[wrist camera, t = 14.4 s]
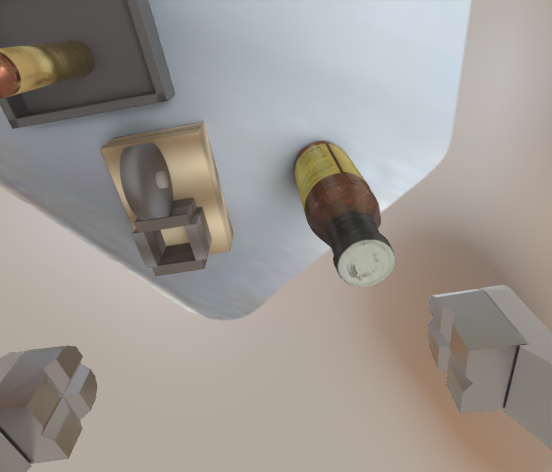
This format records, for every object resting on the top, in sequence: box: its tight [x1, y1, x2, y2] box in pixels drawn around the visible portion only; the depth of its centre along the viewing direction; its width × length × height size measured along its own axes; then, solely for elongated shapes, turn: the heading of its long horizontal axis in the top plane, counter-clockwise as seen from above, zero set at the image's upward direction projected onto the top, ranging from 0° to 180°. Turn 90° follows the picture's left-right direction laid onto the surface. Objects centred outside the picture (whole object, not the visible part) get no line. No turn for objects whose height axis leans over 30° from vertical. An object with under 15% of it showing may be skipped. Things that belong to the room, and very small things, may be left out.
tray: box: [0, 0, 175, 129], centre depth 34 cm, size 16×12×4 cm
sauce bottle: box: [295, 141, 395, 287], centre depth 34 cm, size 6×6×20 cm
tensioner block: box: [100, 122, 233, 276], centre depth 38 cm, size 14×10×11 cm
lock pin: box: [0, 40, 94, 99], centre depth 30 cm, size 3×3×12 cm
